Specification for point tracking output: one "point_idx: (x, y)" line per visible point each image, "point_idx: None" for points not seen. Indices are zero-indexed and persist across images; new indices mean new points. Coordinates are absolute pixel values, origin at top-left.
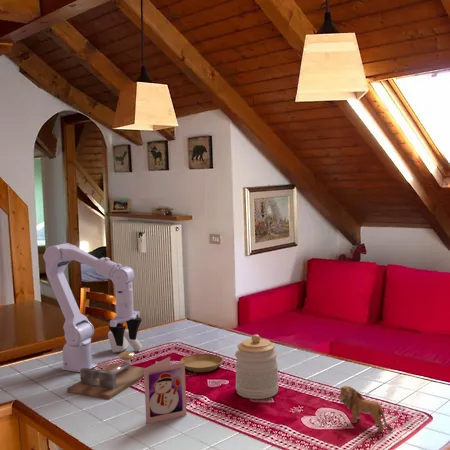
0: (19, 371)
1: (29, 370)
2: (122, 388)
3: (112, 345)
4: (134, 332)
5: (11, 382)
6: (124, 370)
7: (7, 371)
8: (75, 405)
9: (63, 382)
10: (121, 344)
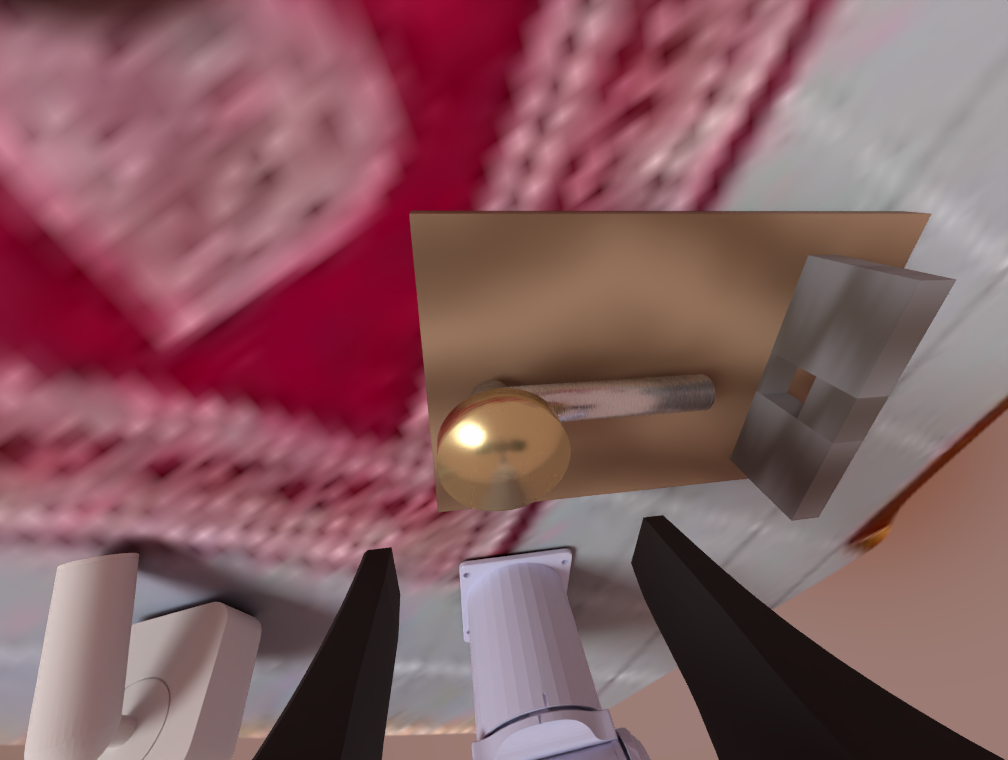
0: (607, 684)
1: (591, 674)
2: (804, 212)
3: (246, 666)
4: (371, 657)
5: None
6: None
7: (614, 700)
8: (949, 331)
9: None
10: (679, 531)
